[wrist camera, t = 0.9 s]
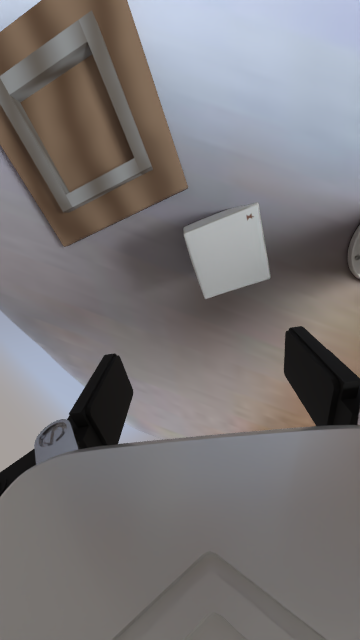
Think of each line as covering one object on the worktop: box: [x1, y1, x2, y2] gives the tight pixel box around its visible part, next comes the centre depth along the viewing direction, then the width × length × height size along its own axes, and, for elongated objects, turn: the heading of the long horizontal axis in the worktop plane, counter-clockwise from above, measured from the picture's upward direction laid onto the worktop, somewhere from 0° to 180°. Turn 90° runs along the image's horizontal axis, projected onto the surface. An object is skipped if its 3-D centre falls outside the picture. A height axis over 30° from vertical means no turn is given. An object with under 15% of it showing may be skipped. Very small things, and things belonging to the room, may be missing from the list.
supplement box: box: [183, 203, 271, 299], centre depth 25 cm, size 7×7×13 cm
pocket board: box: [0, 0, 188, 247], centre depth 24 cm, size 20×20×3 cm
